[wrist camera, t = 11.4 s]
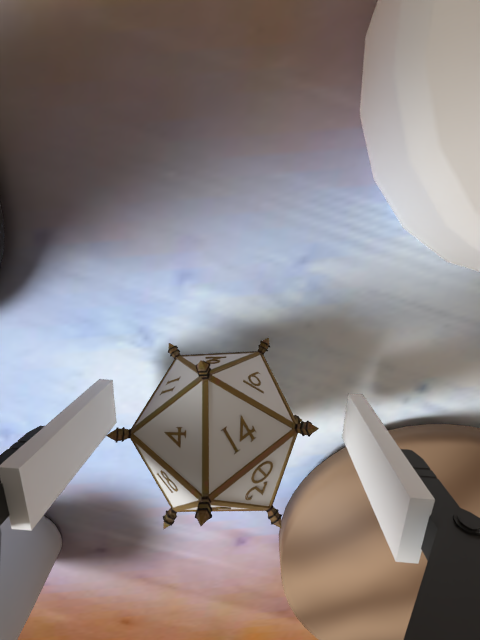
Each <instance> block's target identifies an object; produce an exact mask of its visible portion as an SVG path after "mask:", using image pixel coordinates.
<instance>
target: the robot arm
mask: <svg viewBox="0 0 480 640" xmlns="http://www.w3.org/2000/svg"><path fill="white" fill-rule="evenodd" d="M3 249H4V220H3V212H2V206H1V201H0V266H1V262H2V257H3ZM115 424H116V412H115V401H114V390H113V380H104V379H99V380H98V381H97V382H96V383H94V384H93V385H92V386H91V387H90V388H89V389H87V390H86V391H85V392H84V393H83V394H82V395H80V396H79V397H78V398H77V399H76V400H75V401H74V402H72V403H71V404H70V405H69V406H68V407H67V408H65V409H64V410H63V411H62V412H61V413H60V414H58V415H57V416H56V417H55V418H54V419H53V420H52V421H50V422H49V423H48V424H47V425H46V426H39V427H37V428H35V429H33V430H32V431H30V432H28V433H26V434H25V435H24V436H23V437H22V438H20V439H19V440H18V442H16V443H14V444H13V445H12V446H11V447H10V448H9V449H7V450H6V451H5V452H3V453H2V454H1V455H0V525H1V524H2V523H3V522H4V521H5V520H6V519H7V518H8V517H9V520H10V524H11V528H12V529H19V530H31V531H32V529H33V528H34V527H35V525H36V524H37V523H38V522H39V520H40V519H41V518H42V517H43V515H44V514H45V513H46V511H47V510H48V509H49V508H50V506H51V505H52V504H53V503H54V501H55V500H56V499H57V497H58V496H59V495H60V494H61V492H62V491H63V490H64V489H65V487H66V486H67V485H68V483H69V482H70V481H71V480H72V478H73V477H74V476H75V475H76V473H77V472H78V471H79V469H80V468H81V467H82V466H83V464H84V463H85V462H86V461H87V459H88V458H89V457H90V455H91V454H92V453H93V452H94V450H95V449H96V448H97V447H98V445H99V444H100V443H101V441H102V440H103V439H104V438H105V436H106V435H107V434H108V433H109V431H110V430H111V429H112V427H113V426H114V425H115ZM342 438H343V441H344V443H345V445H346V448H347V450H348V452H349V455H350V457H351V459H352V462H353V464H354V466H355V469H356V471H357V473H358V476H359V478H360V480H361V482H362V485H363V487H364V489H365V492H366V494H367V496H368V499H369V501H370V503H371V506H372V508H373V510H374V513H375V515H376V517H377V520H378V522H379V524H380V527H381V529H382V531H383V533H384V536H385V538H386V540H387V543H388V545H389V547H390V550H391V552H392V554H393V557H394V559H395V561H396V562H404V563H416V564H418V563H419V560H420V556H421V552H422V551H423V553H424V555H425V557H426V559H427V561H428V562H427V565H426V568H425V572H424V575H423V578H422V581H421V585H420V588H419V591H418V594H417V598H416V601H415V604H414V607H413V610H412V614H411V617H410V620H409V623H408V627H407V630H406V633H405V636H404V640H480V518H479V517H477V516H476V515H474V514H473V513H471V512H469V511H467V510H464V509H462V508H460V507H459V505H458V504H457V503H456V501H455V500H454V499H453V497H452V496H451V495H450V493H449V492H448V491H447V490H446V488H445V487H444V486H443V484H442V483H441V482H440V480H439V479H437V476H436V475H435V474H434V473H433V471H431V469H430V467H429V466H428V465H427V463H426V462H425V461H424V459H423V458H421V457H420V456H419V455H418V454H416V453H415V452H414V451H412V450H408V449H400V448H399V447H398V445H397V444H396V442H395V441H394V439H393V438H392V436H391V435H390V434H389V432H388V431H387V429H386V428H385V426H384V425H383V423H382V422H381V420H380V419H379V418H378V416H377V415H376V413H375V412H374V410H373V409H372V407H371V406H370V404H369V403H368V402H367V400H366V399H365V397H364V396H363V394H348V399H347V406H346V413H345V420H344V427H343V434H342ZM0 556H1V529H0Z"/></svg>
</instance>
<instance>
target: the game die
mask: <svg viewBox="0 0 480 640" xmlns="http://www.w3.org/2000/svg"><path fill="white" fill-rule="evenodd" d="M269 347H270V346H269V337H268V338H267V339H265V340H263V341H261V344H260V345H259V349H258V351H255V352H235V353H216V354H196V355H180V353H179V352H180V351H179V350H178V349H177V348H178V347H177V346H174V345H172V344H170V343H169V350H168V353H170V354H171V355H170V356H172V357H174V359H175V360H174V361H173V363H172V364H171V366H170V368H169V369H168V371H167V372H166V374H165V376H164V377H163V379H162V380H161V382H160V384H159V385H158V387H157V388H156V390H155V391H154V393H153V395H152V396H151V398H150V399H149V401H148V403H147V404H146V406H145V407H144V409H143V411H142V412H141V414H140V415H139V417H138V419H137V420H136V422H135V423H134V425H133V426H132V428H131V429H129V430H128V429H124V427H123V428H122V429H118V428H117V429H116V430H114V431H113V432H111V433H109V434H108V435H106V436H108V437H109V438H111V439H113V440H115V441H116V442H117V441H121V440H122V442H123V441H124V440H125V439H127V438H131V440H132V442H133V444H134V445H135V447H136V449H137V450H138V452H139V454H140V455H141V457H142V459H143V461H144V462H145V464H146V466H147V467H148V469H149V471H150V472H151V474H152V476H153V478H154V479H155V481H156V483H157V484H158V486H159V488H160V489H161V491H162V493H163V495H164V496H165V498H166V500H167V501H168V503H169V505H170V506H171V509H169V510H168V511H166V515H165V516H163V520H164V529H165V528H166V527H168V526H170V525H172V524H173V523H174V520H175V518H176V517H177V516H176V513H177V512H196V515H195V518H197V519H198V521H199V523H200V525H201V526H202V525H203V524H204V523H205V522H206V521H207V520H208V519H210V518H212V515H211V511H267V512H268V519H270V520H271V524H274V525H276V526H278V527H280V528H281V516H282V515H281V514H279V513H278V509H277V510H276V509H275V508H274V507H273V502H274V499H275V496H276V493H277V491H278V488H279V485H280V482H281V479H282V476H283V474H284V471H285V468H286V465H287V462H288V459H289V457H290V454H291V451H292V448H293V445H294V442H295V440H296V437H297V434H298V433H300V434H302V436H304V435H308V436H309V437H310V435H311V434H312V433H313V432H315V431H316V430H318V429H319V428H317V427H315V426H314V425H312V423H311V422H309V421H307V422H303V421H302V420H301V419H300V418H299V417H298V416H296V415H294V416H293V414H292V412H291V410H290V408H289V406H288V404H287V401H286V399H285V397H284V395H283V393H282V391H281V389H280V387H279V385H278V383H277V381H276V379H275V377H274V375H273V373H272V371H271V369H270V367H269V365H268V363H267V361H266V359H265V357H264V355H263V354H264V353H265V352H266V351H268V350H267V349H268V348H269ZM300 422H301V423H300Z"/></svg>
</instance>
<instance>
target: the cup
mask: <svg viewBox="0 0 480 640" xmlns="http://www.w3.org/2000/svg"><path fill="white" fill-rule="evenodd" d="M0 529H1V556H0V640H17V639H18V637H19V635H20V633H21V631H22V629H23V627H24V625H25V623H26V621H27V619H28V617H29V615H30V613H31V611H32V609H33V607H34V605H35V603H36V600H37V598H38V596H39V594H40V592H41V590H42V588H43V586H44V584H45V582H46V580H47V577H48V575H49V573H50V571H51V569H52V567H53V565H54V563H55V561H56V559H57V556H58V554H59V552H60V550H61V548H62V539H61V535H60V532H59V531H58V529H57V527H56V526H55V524H54V523H53V522H52V521H51V520H50V519H48V518H47V517H45V516H44V515H43V517H42V518H41V519H40V520H39V522H38V523H37V524H36V525H35V527H34V528H33V529H32V531H31V530H19V529H12V528H11V524H10V520H9V517H8V518H7V519H6V520H5V521H4V522H3V523H2V524H1V525H0Z"/></svg>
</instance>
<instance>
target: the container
mask: <svg viewBox="0 0 480 640" xmlns="http://www.w3.org/2000/svg"><path fill="white" fill-rule="evenodd" d="M360 119H361V123H362V128H363V132H364V137H365V142H366V146H367V151H368V156H369V160H370V165H371V169H372V174H373V179H374V180H375V182H376V184H377V185H378V187H379V189H380V190H381V192H382V194H383V195H384V197H385V199H386V200H387V202H388V204H389V205H390V207H391V209H392V210H393V212H394V213H395V215H396V217H397V218H398V220H399V222H400V223H401V225H402V227H403V228H404V229H405V230H406V231H408V232H409V233H410V234H411V235H413V236H414V237H415V238H417V239H418V240H419V241H420V242H422V243H423V244H424V245H425V246H427V247H428V248H429V249H431V250H432V251H433V252H434V253H436V254H437V255H438V256H440V257H441V258H442V259H443V260H445V261H446V262H449V263H452V264H455V265H459V266H462V267H465V268H468V269H472V270H475V271H478V272H480V0H378V1H377V4H376V7H375V10H374V13H373V16H372V19H371V22H370V25H369V28H368V31H367V34H366V37H365V48H364V61H363V75H362V89H361V102H360Z"/></svg>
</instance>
